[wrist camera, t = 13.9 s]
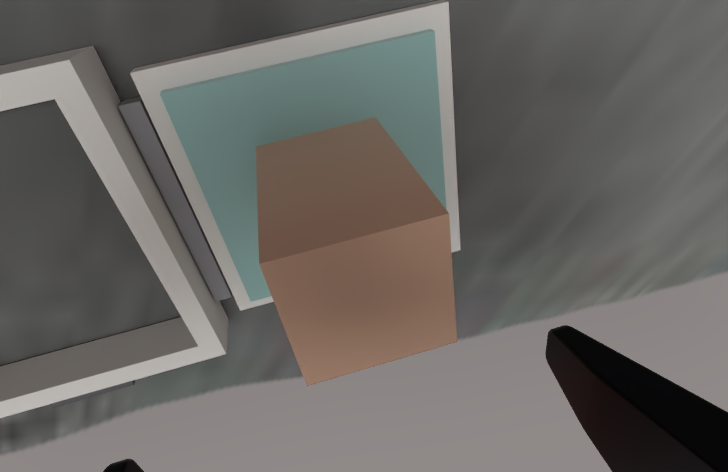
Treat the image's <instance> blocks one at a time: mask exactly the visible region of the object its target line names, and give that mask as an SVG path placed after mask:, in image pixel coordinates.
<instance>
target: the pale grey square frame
mask: <svg viewBox="0 0 728 472" xmlns="http://www.w3.org/2000/svg"><path fill="white" fill-rule="evenodd" d="M53 99H55V101H56V102H57V104H58V106H59V108H60V109H61V111H62V113H63V114H64V116H65V118H66V120H67V121H68V123H69V125H70V126H71V128H72V130H73V132H74V133H75V135H76V137H77V138H78V140H79V142H80V144H81V145H82V147H83V149H84V150H85V152H86V154H87V156H88V157H89V159H90V161H91V163H92V164H93V166H94V168H95V169H96V171H97V173H98V175H99V176H100V178H101V180H102V181H103V183H104V185H105V187H106V188H107V190H108V192H109V193H110V195H111V197H112V199H113V200H114V202H115V204H116V205H117V207H118V209H119V211H120V212H121V214H122V216H123V217H124V219H125V221H126V223H127V224H128V226H129V228H130V230H131V231H132V233H133V235H134V236H135V238H136V240H137V242H138V243H139V245H140V247H141V248H142V250H143V252H144V254H145V255H146V257H147V259H148V260H149V262H150V264H151V266H152V267H153V269H154V271H155V272H156V274H157V276H158V278H159V279H160V281H161V283H162V284H163V286H164V288H165V290H166V291H167V293H168V295H169V297H170V298H171V300H172V302H173V303H174V305H175V307H176V309H177V310H178V312H179V314H180V315H181V317H179V318H175V319H172V320H168V321H164V322H161V323H157V324H153V325H150V326H146V327H142V328H139V329H135V330H131V331H128V332H124V333H121V334H117V335H113V336H110V337H106V338H102V339H99V340H95V341H91V342H88V343H84V344H80V345H77V346H73V347H69V348H66V349H62V350H58V351H55V352H51V353H48V354H44V355H40V356H37V357H33V358H29V359H26V360H22V361H18V362H15V363H11V364H7V365H4V366H0V418H2V417H6V416H9V415H13V414H16V413H20V412H23V411H27V410H31V409H34V408H38V407H41V406H45V405H48V404H50V405H51V406H52V407H53V408H54V407H57V406H61V405H64V404H68V403H71V402H75V401H78V400H82V399H85V398H89V397H92V396H96V395H99V394H103V393H106V392H110V391H113V390H117V389H120V388H124V387H127V386H131V385H134V383H135V380H136V379H140V378H143V377H147V376H150V375H154V374H157V373H161V372H164V371H168V370H172V369H175V368H179V367H182V366H186V365H189V364H193V363H196V362H200V361H203V360H207V359H210V358H214V357H217V356H221V355H224V354H226V352H227V335H228V317H227V315H226V313H225V311H224V309H223V307H222V305H221V303H220V301H215V299H214V297H213V295H212V293H211V291H210V289H209V287H208V285H207V283H206V281H205V279H204V277H203V275H202V273H201V271H200V269H199V267H198V265H197V263H196V261H195V259H194V257H193V255H192V253H191V251H190V249H189V247H188V245H187V243H186V241H185V239H184V237H183V235H182V233H181V231H180V229H179V227H178V225H177V223H176V221H175V219H174V217H173V215H172V213H171V211H170V209H169V207H168V205H167V203H166V201H165V199H164V197H163V195H162V193H161V191H160V189H159V187H158V185H157V183H156V181H155V179H154V177H153V175H152V173H151V171H150V169H149V167H148V165H147V163H146V161H145V159H144V157H143V155H142V153H141V151H140V149H139V147H138V145H137V143H136V141H135V139H134V137H133V135H132V133H131V131H130V129H129V127H128V125H127V123H126V121H125V119H124V117H123V115H122V113H121V111H120V109H119V107H118V106H119V104H120V103H121V101H120V99H119V97H118V95H117V93H116V91H115V89H114V87H113V85H112V83H111V81H110V79H109V77H108V75H107V72H106V70H105V68H104V66H103V64H102V62H101V60H100V58H99V56H98V54H97V52H96V50H95V48H94V46H89V47H84V48H80V49H75V50H71V51H66V52H61V53H57V54H52V55H47V56H43V57H38V58H34V59H29V60H24V61H20V62H15V63H11V64H6V65H1V66H0V111H4V110H9V109H13V108H18V107H22V106H26V105H31V104H35V103H40V102H44V101H49V100H53Z"/></svg>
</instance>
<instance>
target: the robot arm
mask: <svg viewBox="0 0 728 472" xmlns="http://www.w3.org/2000/svg"><path fill="white" fill-rule="evenodd" d="M546 359H547V362H548V364H549V366H550V368H551V370H552V372H553V374H554V376H555V377H556V379H557V381H558V383H559V385H560V387H561V388H562V390H563V392H564V394H565V396H566V398H567V400H568V401H569V403H570V405H571V407H572V409H573V411H574V413H575V414H576V416H577V418H578V420H579V422H580V423H581V425H582V427H583V429H584V430H585V432H586V433H587V435H588V436H589V438H590V439H591V441H592V442H593V444H594V445H595V447H596V448H597V450H598V451H599V453H600V454H601V456H602V457H603V459H604V460H605V461H606V463H607V464H608V466H609V467H610V469H611V470H612V472H728V412H726V411H724V410H722V409H721V408H719V407H717V406H715V405H713V404H712V403H710V402H708V401H706V400H704V399H702V398H701V397H699V396H697V395H695V394H693V393H691V392H690V391H688V390H686V389H684V388H682V387H681V386H679V385H677V384H675V383H673V382H671V381H670V380H668V379H666V378H664V377H662V376H660V375H659V374H657V373H655V372H653V371H651V370H649V369H648V368H646V367H644V366H642V365H640V364H638V363H637V362H635V361H633V360H631V359H629V358H627V357H626V356H624V355H622V354H620V353H618V352H616V351H615V350H613V349H611V348H609V347H607V346H605V345H604V344H602V343H600V342H598V341H596V340H594V339H593V338H591V337H589V336H587V335H585V334H584V333H582V332H580V331H578V330H576V329H574V328H573V327H570V326H566V325H565V326H561V327H557V328H554V329H551V330H550V331H549V332H548V339H547V346H546ZM103 472H144V471H143V470H142V469H141V468H140V467H139V466H138V465H137V463H136V462H135V461H134V460H132V459H126V460H122V461H119V462H116V463H112V464H110V465H109V466H108V467H107V468H106V469H105V470H104V471H103Z"/></svg>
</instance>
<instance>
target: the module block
mask: <svg viewBox="0 0 728 472" xmlns="http://www.w3.org/2000/svg"><path fill="white" fill-rule="evenodd" d="M256 174H257V209H258V244H259V265H260V268H261V270H262V273H263V275H264V278H265V280H266V283H267V286H268V288H269V291H270V293H271V296H272V298H273V301H274V303H275V306H276V308H277V311H278V313H279V316H280V318H281V321H282V324H283V326H284V329H285V331H286V334H287V336H288V339H289V341H290V344H291V346H292V349H293V351H294V354H295V356H296V359H297V362H298V364H299V367H300V369H301V372H302V374H303V377H304V379H305V382H306V384H307V386H309V385H312V384H316V383H319V382H323V381H326V380H329V379H333V378H336V377H340V376H343V375H346V374H350V373H353V372H357V371H360V370H363V369H367V368H370V367H374V366H377V365H380V364H384V363H387V362H390V361H394V360H397V359H401V358H404V357H408V356H411V355H414V354H418V353H421V352H425V351H428V350H431V349H435V348H438V347H442V346H445V345H448V344H452V343H455V342H457V332H456V316H455V300H454V284H453V268H452V252H451V236H450V220H449V213H448V211H447V210H446V209H445V207H444V206H443V205H442V204H441V202H440V201H439V200H438V198H437V197H436V196H435V194H434V193H433V192H432V190H431V189H430V188H429V187H428V185H427V184H426V183H425V181H424V180H423V179H422V177H421V176H420V175H419V173H418V172H417V171H416V169H415V168H414V167H413V166H412V164H411V163H410V162H409V160H408V159H407V158H406V156H405V155H404V154H403V152H402V151H401V150H400V149H399V147H398V146H397V145H396V143H395V142H394V141H393V139H392V138H391V137H390V135H389V134H388V133H387V131H386V130H385V129H384V128H383V126H382V125H381V124H380V122H379V121H378V120H377V118H376V117H375V118H371V119H367V120H363V121H359V122H355V123H350V124H346V125H342V126H338V127H334V128H330V129H326V130H322V131H318V132H313V133H309V134H305V135H301V136H297V137H293V138H289V139H285V140H281V141H277V142H272V143H268V144H264V145H260V146H256Z"/></svg>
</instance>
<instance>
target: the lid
mask: <svg viewBox="0 0 728 472" xmlns="http://www.w3.org/2000/svg"><path fill="white" fill-rule="evenodd" d="M130 75H131V77H132V79H133V81H134V83H135V85H136V88H137V90H138V92H139V94H140V96H139V97H135V98H131V99H126V100H123V101H122V102H121V103H120V104H119V106H118V107H119V109H120V111H121V113H122V115H123V117H124V119H125V121H126V123H127V125H128V127H129V129H130V131H131V133H132V135H133V137H134V139H135V141H136V143H137V145H138V147H139V149H140V151H141V153H142V155H143V157H144V159H145V161H146V163H147V165H148V167H149V169H150V171H151V173H152V175H153V177H154V179H155V181H156V183H157V185H158V187H159V189H160V191H161V193H162V195H163V197H164V199H165V201H166V203H167V205H168V207H169V209H170V211H171V213H172V215H173V217H174V219H175V221H176V223H177V225H178V227H179V229H180V231H181V233H182V235H183V237H184V239H185V241H186V243H187V245H188V247H189V249H190V251H191V253H192V255H193V257H194V259H195V261H196V263H197V265H198V267H199V269H200V271H201V273H202V275H203V277H204V279H205V281H206V283H207V285H208V287H209V289H210V291H211V293H212V295H213V297H214V299H215V301H220V300H224V299H227V298H231V297H232V294H233V296H234V298H235V300H236V303H237V305H238V307H239V309H240V311H242V310H245V309H249V308H252V307H256V306H260V305H263V304H267V303H271V302H274V301H273V298H272V296H271V293H270V291H269V288H268V286H267V283H266V280H265V278H264V275H263V273H262V270H261V268H260V265H259V244H258V209H257V174H256V146H260V145H264V144H268V143H272V142H277V141H281V140H285V139H289V138H293V137H297V136H301V135H305V134H309V133H313V132H318V131H322V130H326V129H330V128H334V127H338V126H342V125H346V124H350V123H355V122H359V121H363V120H367V119H371V118H375V117H376V118H377V120H378V121H379V122H380V124H381V125H382V126H383V128H384V129H385V130H386V131H387V133H388V134H389V135H390V137H391V138H392V139H393V141H394V142H395V143H396V145H397V146H398V147H399V149H400V150H401V151H402V152H403V154H404V155H405V156H406V158H407V159H408V160H409V162H410V163H411V164H412V166H413V167H414V168H415V169H416V171H417V172H418V173H419V175H420V176H421V177H422V179H423V180H424V181H425V183H426V184H427V185H428V187H429V188H430V189H431V190H432V192H433V193H434V194H435V196H436V197H437V198H438V200H439V201H440V202H441V204H442V205H443V206H444V207H445V209H446V210H447V211H448V213H449V220H450V236H451V252H455V251H459V250H460V230H459V210H458V189H457V168H456V147H455V127H454V106H453V85H452V64H451V43H450V23H449V2H448V1H444V0H438V1H433V2H429V3H424V4H420V5H415V6H411V7H406V8H402V9H397V10H393V11H388V12H384V13H379V14H375V15H370V16H366V17H361V18H357V19H352V20H348V21H343V22H339V23H335V24H330V25H326V26H321V27H317V28H312V29H308V30H303V31H299V32H294V33H290V34H285V35H281V36H276V37H272V38H267V39H263V40H258V41H254V42H249V43H245V44H240V45H236V46H231V47H227V48H222V49H218V50H213V51H209V52H205V53H200V54H196V55H191V56H187V57H182V58H178V59H173V60H169V61H164V62H160V63H155V64H151V65H146V66H142V67H137V68H134V69H133V70H132V71H131V72H130Z"/></svg>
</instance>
